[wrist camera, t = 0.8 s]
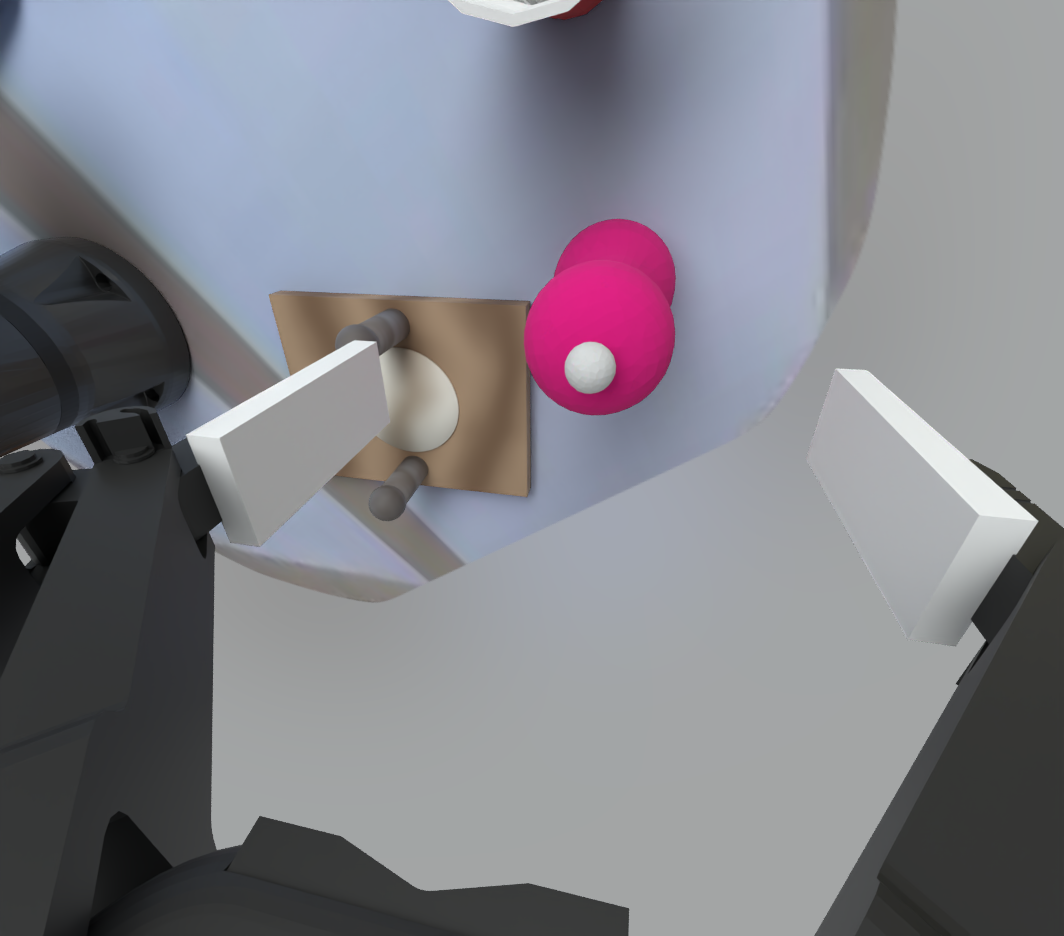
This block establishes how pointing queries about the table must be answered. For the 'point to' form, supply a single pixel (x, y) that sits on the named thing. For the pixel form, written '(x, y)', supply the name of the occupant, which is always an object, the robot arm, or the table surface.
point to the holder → (427, 387)
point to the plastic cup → (523, 9)
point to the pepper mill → (604, 320)
